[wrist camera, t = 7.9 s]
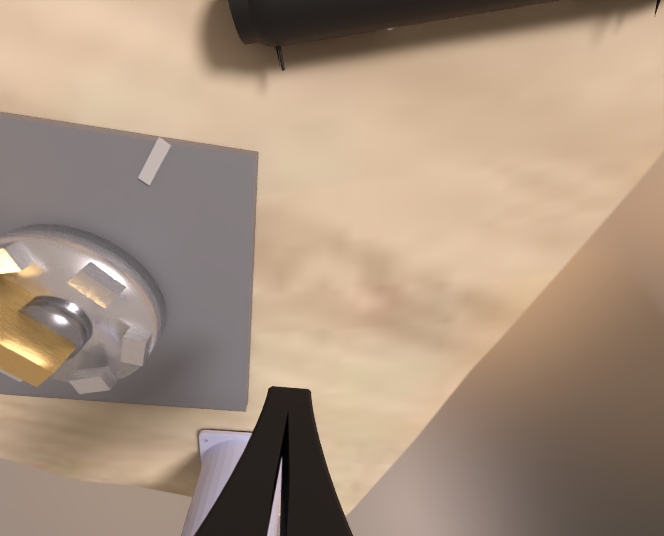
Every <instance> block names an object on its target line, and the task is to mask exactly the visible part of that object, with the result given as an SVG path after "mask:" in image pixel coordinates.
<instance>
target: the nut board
mask: <svg viewBox="0 0 664 536" xmlns="http://www.w3.org/2000/svg"><path fill="white" fill-rule="evenodd" d="M257 172H258V152H255V151H249V150H242V149H236V148H230V147H223V146H217V145H210V144H204V143H197V142H191V141H185V140H178V139H172V138H165V137H159V136H152V135H146V134H139V133H133V132H127V131H120V130H114V129H107V128H101V127H94V126H88V125H82V124H75V123H69V122H62V121H56V120H49V119H43V118H37V117H30V116H24V115H17V114H11V113H4V112H0V235H2V234H4V233H6V232H8V231H11V230H13V229H16V228H18V227H23V226H27V225H35V224H56V225H62V226H69V227H73V228H77V229H81V230H84V231H87V232H90V233H92V234H95V235H97V236H99V237H102V238H104V239H106V240H108V241H110V242H111V243H113V244H115V245H117V246H118V247H120V248H121V249H123V250H124V251H126V252H127V253H129V254H130V255H131V256H132V257H134V258H135V259H136V260H137V261H138V262H139V263H140V264H141V265H142V266H143V267H144V268H145V269H146V270H147V271H148V272H149V273H150V275H151V276H152V277H153V279H154V280H155V281H156V283H157V285H158V286H159V288H160V290H161V292H162V295H163V297H164V300H165V304H166V309H167V321H166V326H165V329H164V331H163V333H162V335H161V337H160V339H159V340H158V342H157V344H156V345H155V347H154V349H153V350H152V352H151V354H150V355H149V357H148V359H147V360H146V362H145V363H144V365H143V366H141V367H140V368H139V369H138V370H136V371H135V372H133V373H132V374H130V375H128V376H126V377H123V378H121V379H118V380H117V381H116V383H115V384H114V386H113V387H112V389H111V390H108V391H100V392H92V393H84V394H79V393H78V392H77V391H76V390H75V388H74V387H73V386H72V385H71V384H70V382H67V381H61V380H57V379H53V378H49V377H48V378H47V379H46V380H45V381H44V382H42V383H41V384H40V385H39V386H38V387H35V386H33V385H31V384H29V383H27V382H25V381H23V380H22V381H21V382H19V381H17V380H15V379H13V378H11V377H9V376H7V375H5V374H3V373H1V372H0V394H6V395H19V396H33V397H47V398H61V399H75V400H89V401H103V402H117V403H131V404H145V405H159V406H173V407H186V408H200V409H214V410H228V411H242V412H246V408H247V403H248V388H249V364H250V340H251V316H252V292H253V268H254V244H255V220H256V196H257Z"/></svg>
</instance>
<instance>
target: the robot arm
mask: <svg viewBox="0 0 664 536" xmlns="http://www.w3.org/2000/svg"><path fill="white" fill-rule="evenodd" d="M199 446H200V458H201V471H200V474H199V478H198V481H197V484H196V488H195V491H194V494H193V498H192V501H191V504H190V507H189V511H188V514H187V517H186V521H185V524H184V528H183V531H182V534H181V536H276V532H277V521H278V511H279V501H280V492H281V515H280V536H353V534H352V532H351V530H350V527H349V525H348V522H347V520H346V517H345V515H344V512H343V510H342V507H341V505H340V502H339V500H338V497H337V494H336V491H335V488H334V486H333V483H332V480H331V477H330V474H329V471H328V467H327V464H326V461H325V458H324V454H323V450H322V447H321V443H320V440H319V436H318V432H317V427H316V423H315V418H314V413H313V407H312V399H311V391H310V390H309V389H300V388H287V387H274V386H272V387H270V388H269V389H268V393H267V397H266V400H265V403H264V406H263V409H262V411H261V414H260V416H259V419H258V421H257V424H256V426H255V428H254V430H253V432H252V433H248V432H233V431H217V430H202V431H200V434H199Z"/></svg>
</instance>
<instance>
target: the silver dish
mask: <svg viewBox="0 0 664 536" xmlns="http://www.w3.org/2000/svg"><path fill="white" fill-rule="evenodd" d="M166 321H167V309H166V304H165V300H164V297H163V295H162V292H161V290H160V288H159V286H158V285H157V283H156V281H155V280H154V279H153V277H152V276H151V275H150V273H149V272H148V271H147V270H146V269H145V268H144V267H143V266H142V265H141V264H140V263H139V262H138V261H137V260H136V259H135V258H134V257H132V256H131V255H130V254H129V253H127V252H126V251H124V250H123V249H121V248H120V247H118V246H117V245H115V244H113V243H111V242H110V241H108V240H106V239H104V238H102V237H99V236H97V235H95V234H92V233H90V232H87V231H84V230H81V229H77V228H73V227H69V226H62V225H56V224H35V225H27V226H23V227H18V228H16V229H13V230H11V231H8V232H6V233H4V234H2V235H0V372H1V373H3V374H5V375H7V376H9V377H11V378H13V379H15V380H17V381H19V382H21V381H22V380H23V381H25V382H27V383H29V384H31V385H33V386H35V387H38V386H39V385H40V384H41V383H42V382H44V381H45V380H46V379H47V378H48V377H49V378H53V379H57V380H61V381H67V382H70V384H71V385H72V386H73V387H74V388H75V390H76V391H77V392H78V393H79V394H84V393H92V392H100V391H108V390H111V389H112V387H113V386H114V384H115V383H116V381H117V380H118V379H121V378H123V377H126V376H128V375H130V374H132V373H133V372H135V371H136V370H138V369H139V368H140V367H141V366H143V365H144V363H145V362H146V360H147V359H148V357H149V355H150V354H151V352H152V350H153V349H154V347H155V345H156V344H157V342H158V340H159V339H160V337H161V335H162V333H163V331H164V329H165V326H166Z"/></svg>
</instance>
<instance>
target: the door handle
mask: <svg viewBox="0 0 664 536" xmlns="http://www.w3.org/2000/svg"><path fill="white" fill-rule="evenodd" d="M553 1H559V0H228V2H229V6H230V10H231V13H232V17H233V20H234V23H235V26H236V29H237V32H238V34H239V36H240V39H241V41H242V42H243V43H244V44H250V43H256V42H260V43H262V44H264V45H268V46H276V51H277V55H278V51H279V56H280V62H281V67H282V70H283V71H284V70H285V68H284V62H283V57H282V51H281V46H283V45H290V44H296V43H302V42H308V41H314V40H320V39H326V38H332V37H339V36H345V35H351V34H357V33H363V32H369V31H375V30H381V29H387V30H392V29H394V28H395V27H400V26H406V25H412V24H418V23H424V22H430V21H436V20H443V19H449V18H455V17H461V16H467V15H473V14H479V13H485V12H492V11H498V10H504V9H510V8H516V7H522V6H528V5H534V4H541V3H547V2H553ZM659 3H660V0H657V4H656V10H655V14H656V11H657V9H658V6H659ZM654 17H655V16H654ZM277 46H278V49H277ZM274 48H275V47H274ZM279 56H278V60H279ZM279 64H280V63H279Z"/></svg>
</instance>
